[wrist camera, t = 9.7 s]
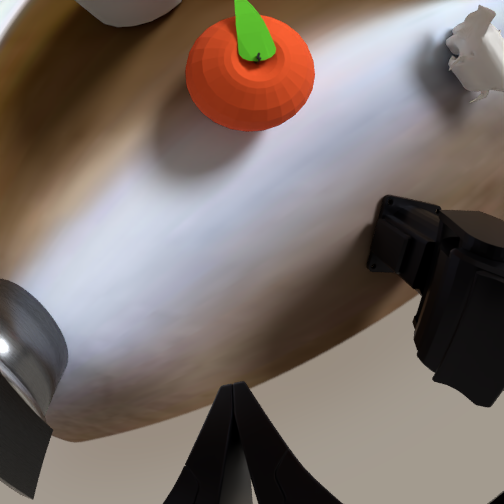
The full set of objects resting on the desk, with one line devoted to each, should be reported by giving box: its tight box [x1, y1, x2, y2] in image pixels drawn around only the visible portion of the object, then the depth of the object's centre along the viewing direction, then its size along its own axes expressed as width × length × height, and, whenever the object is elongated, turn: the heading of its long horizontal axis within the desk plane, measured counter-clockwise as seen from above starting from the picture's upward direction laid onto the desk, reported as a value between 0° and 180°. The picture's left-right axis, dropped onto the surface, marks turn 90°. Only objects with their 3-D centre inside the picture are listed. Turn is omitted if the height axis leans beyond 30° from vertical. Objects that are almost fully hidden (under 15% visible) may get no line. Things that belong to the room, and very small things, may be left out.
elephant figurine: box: [446, 5, 504, 103], centre depth 13 cm, size 8×10×7 cm
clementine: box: [185, 0, 315, 132], centre depth 13 cm, size 8×7×7 cm
